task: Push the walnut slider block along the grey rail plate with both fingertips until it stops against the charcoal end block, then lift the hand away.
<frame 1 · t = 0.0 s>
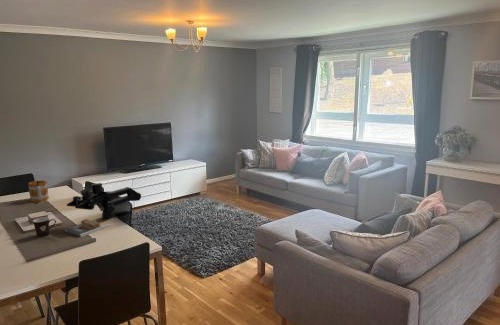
hand: (71, 206, 232), 17 cm above the table, tool horizontal, fingers open, 9 cm apart
coffee mug: (45, 235, 231), on the table
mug: (40, 201, 304), on the table
rail plate: (89, 230, 237), on the table
walnut slider: (90, 225, 237), point 3 cm above the table, slide at 0.0 cm
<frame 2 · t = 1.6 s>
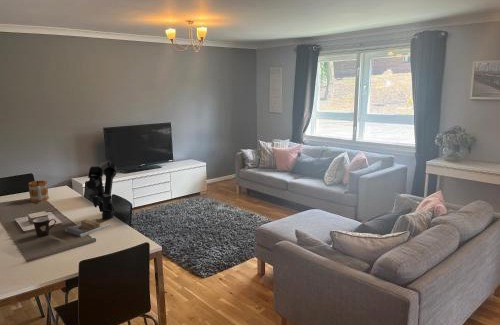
hand: (100, 208, 242), 12 cm above the table, tool pointing down, fingers open, 9 cm apart
nothing on the table moved.
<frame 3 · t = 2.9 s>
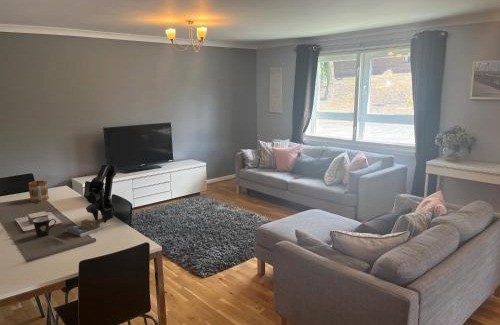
hand: (100, 221, 243), 3 cm above the table, tool pointing down, fingers open, 9 cm apart
nothing on the table moved.
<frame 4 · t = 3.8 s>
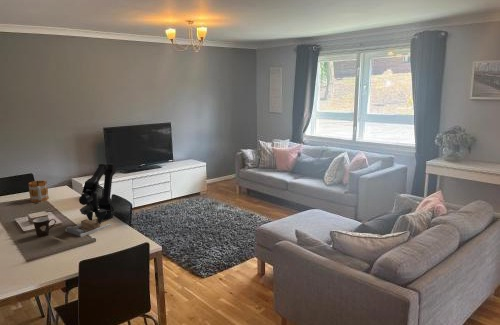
hand: (95, 223, 240), 3 cm above the table, tool pointing down, fingers open, 9 cm apart
walnut slider: (90, 225, 237), point 3 cm above the table, slide at 0.0 cm, touching gripper
everything else where it was.
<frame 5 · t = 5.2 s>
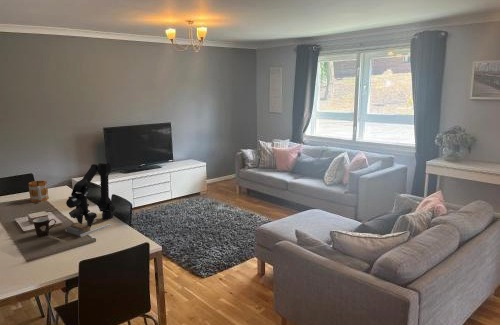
hand: (85, 226, 234), 3 cm above the table, tool pointing down
walnut slider: (80, 228, 231), point 3 cm above the table, slide at 7.1 cm, touching gripper
everything else where it was.
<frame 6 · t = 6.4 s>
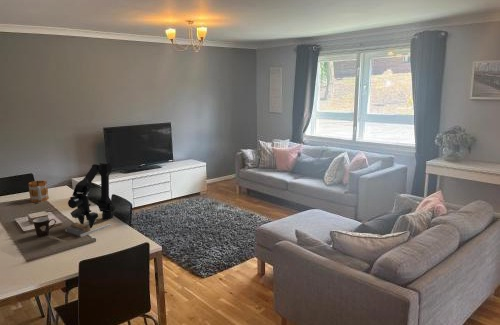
hand: (86, 226, 235), 3 cm above the table, tool pointing down, fingers open, 9 cm apart
walnut slider: (80, 228, 231), point 3 cm above the table, slide at 7.0 cm
everything else where it was.
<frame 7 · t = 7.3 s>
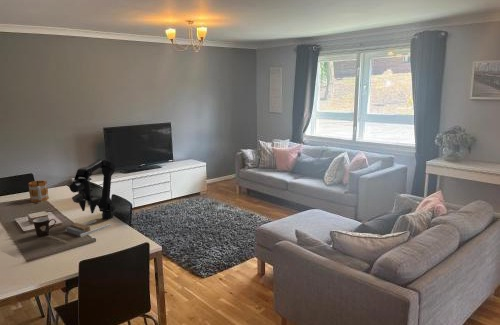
hand: (87, 212, 235), 12 cm above the table, tool pointing down, fingers open, 9 cm apart
nothing on the table moved.
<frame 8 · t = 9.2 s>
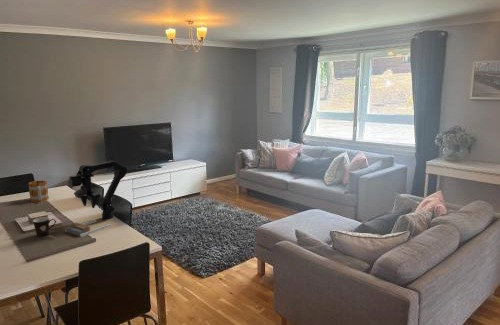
hand: (89, 207, 245), 12 cm above the table, tool pointing down, fingers open, 9 cm apart
nothing on the table moved.
at the end: walnut slider slide at 7.0 cm; the gripper is holding nothing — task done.
